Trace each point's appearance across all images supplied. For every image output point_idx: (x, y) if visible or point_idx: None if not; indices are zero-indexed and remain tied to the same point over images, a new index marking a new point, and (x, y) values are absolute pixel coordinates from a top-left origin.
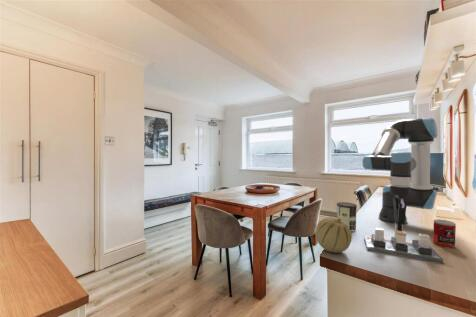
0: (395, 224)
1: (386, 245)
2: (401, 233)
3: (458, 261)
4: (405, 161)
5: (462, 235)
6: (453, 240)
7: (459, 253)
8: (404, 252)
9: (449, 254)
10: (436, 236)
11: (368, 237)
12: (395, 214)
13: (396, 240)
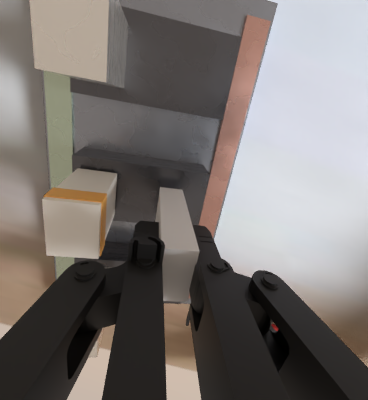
0: (176, 238)
1: (131, 115)
2: (47, 222)
3: (108, 328)
4: None
5: None
6: None
7: (184, 349)
8: (50, 179)
9: (164, 326)
10: None
11: (246, 28)
12: (236, 345)
13: (101, 173)
